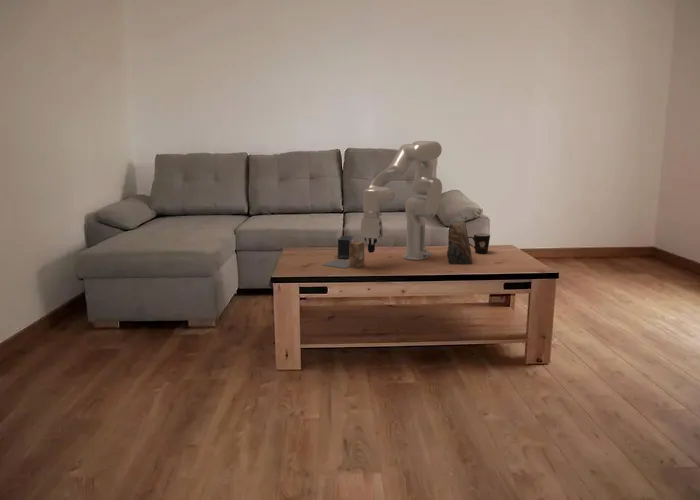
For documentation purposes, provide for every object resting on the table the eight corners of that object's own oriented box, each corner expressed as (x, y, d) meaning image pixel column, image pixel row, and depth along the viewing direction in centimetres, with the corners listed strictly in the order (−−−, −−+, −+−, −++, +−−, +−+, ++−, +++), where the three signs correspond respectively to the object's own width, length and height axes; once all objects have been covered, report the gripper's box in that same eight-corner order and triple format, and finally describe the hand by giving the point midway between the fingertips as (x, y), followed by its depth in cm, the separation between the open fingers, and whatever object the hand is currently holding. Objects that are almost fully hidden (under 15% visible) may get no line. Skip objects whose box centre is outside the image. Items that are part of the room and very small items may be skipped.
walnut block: (364, 265, 290) (364, 242, 288) (358, 268, 285) (358, 244, 283) (355, 264, 293) (355, 241, 290) (349, 267, 288) (349, 243, 285)
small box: (349, 259, 304) (349, 239, 301) (337, 259, 305) (337, 239, 303) (353, 254, 314) (353, 235, 312) (341, 254, 315) (341, 235, 313)
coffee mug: (491, 252, 317) (492, 233, 315) (486, 255, 310) (487, 236, 308) (471, 249, 323) (471, 231, 321) (465, 252, 316) (466, 234, 314)
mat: (358, 262, 296) (358, 262, 296) (344, 268, 285) (344, 267, 285) (336, 260, 303) (336, 259, 303) (322, 265, 292) (322, 264, 292)
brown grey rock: (447, 264, 291) (448, 225, 287) (443, 258, 303) (444, 220, 299) (472, 264, 291) (474, 224, 287) (467, 258, 303) (469, 220, 299)
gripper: (388, 214, 279) (388, 252, 283) (361, 212, 286) (361, 249, 290) (381, 216, 272) (381, 255, 276) (353, 214, 280) (354, 252, 284)
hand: (371, 252), depth 283 cm, fingers closed
